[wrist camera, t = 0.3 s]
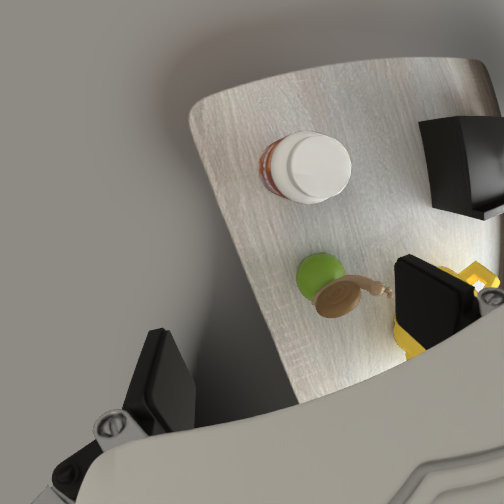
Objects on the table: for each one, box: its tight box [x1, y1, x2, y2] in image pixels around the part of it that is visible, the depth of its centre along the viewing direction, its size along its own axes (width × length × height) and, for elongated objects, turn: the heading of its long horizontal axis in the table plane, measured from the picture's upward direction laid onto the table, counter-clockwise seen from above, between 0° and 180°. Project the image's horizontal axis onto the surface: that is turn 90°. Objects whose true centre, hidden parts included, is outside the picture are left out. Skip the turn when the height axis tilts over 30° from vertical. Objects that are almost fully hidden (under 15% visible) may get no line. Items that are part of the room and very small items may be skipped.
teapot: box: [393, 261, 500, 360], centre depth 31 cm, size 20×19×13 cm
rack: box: [418, 116, 504, 221], centre depth 27 cm, size 12×16×10 cm
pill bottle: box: [258, 131, 351, 204], centre depth 24 cm, size 6×6×11 cm
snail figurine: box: [296, 253, 393, 318], centre depth 27 cm, size 5×6×12 cm
